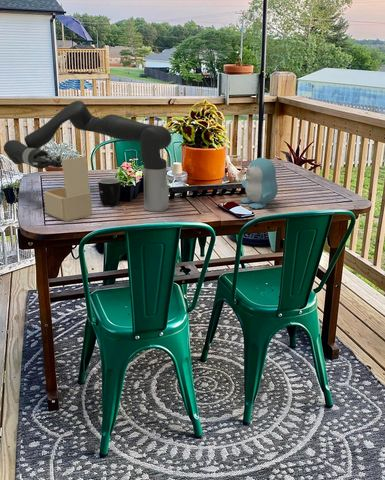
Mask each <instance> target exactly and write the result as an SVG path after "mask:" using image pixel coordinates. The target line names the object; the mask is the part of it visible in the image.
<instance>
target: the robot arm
mask: <svg viewBox="0 0 385 480" xmlns="http://www.w3.org/2000/svg"><path fill="white" fill-rule="evenodd" d="M67 121H69V122H70V123H71V125H72V126H73V127H74V128H75V129H76V130H79V131H83V132H84V131H85V132H93V133H96V134H100V135H104V136H107V137H110V138H113V139H117V140H120V141H121V140H122V141H135V142H140V155H141V161H142V164H143V205H144V206H143V209H144V210H145V211H148V212H164V211H165V210H167V209H169V205H170V204H169V202H170V200H169V192H170V191H169V189H170V188H169V187H170V186H169V185H167V184H168V183H167V182H168V181H167V178H168V176H167V174H168V173H167V171H168V170H167V169H168V168H167V166H168V165H167V160H166V159H165V158H162V156H161V150H164V149H166V148H167V147H169V146H170V144H171V142H172V135H171V132H170V130H169V129H167V128H166V127H164V126H163V125H155V124H148V123H142V122H140V121H137V120H134V119H130V118H127V117H124V116H121V115H118V114H117V115H116V114H111V113H110V114H108V115H107V114H106V115H105V116H103V117H102V118H101V117H98V116H94V115H93V114H92V113H91V112H90V111H89V109H88V107H87V106H86V104H85V103H84V101H81V100H75V101H73V102H70V103H69V104H68V105H66V106H65V107H64V108H63V109H61V110H60V111H59V112H58V113H56V114H55V115H54V116H53V117H51V119H50V120H48V121H47V122H45V123H44V125H42V126H40V127H39V128H37V129H35V130H34V131H32V132H30V133H29V134H27V135H25V136H24V139H23V140H24V142H25V144H26V145H25V144H24V143H22V142H21V141H19V140H16V139H10V140H7V141H6V142H5V143H4V145H3V151H4V153H5V154H6V155H7V157H8V158H9V159H10V161H12V163H13V164H15V165H21V164H24V165H27V166H30V167H33V168H36V169H39V170H43V169H45V168H62V156H60V155H58V156H56V157H54V156H51V155H49V153H48V152H47V151H46V150H43V149H40V148H42V147H43V146H45V145H47V144H49V143H50V142H51V141H52V140H53V138H54V137H55V135H56V133H57V131H58V130H59V128H60V127H61V125H63V124H64V123H65V122H67Z"/></svg>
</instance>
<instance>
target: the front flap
mask: <svg viewBox="0 0 385 480" xmlns="http://www.w3.org/2000/svg"><path fill="white" fill-rule="evenodd" d="M61 167H62V173H63V181H64V187H65V191H66V198H68V197H73V196H77V195H82V194H86V193H91V189H90V187H91V186H90V179H89V177H90V176H89V171H88V170H89V168H88V161H87V156H86V155H84V156H79V157H77V156H76V157H72V158H71V157H70V158H65V159H61Z"/></svg>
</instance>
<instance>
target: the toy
mask: <svg viewBox="0 0 385 480" xmlns="http://www.w3.org/2000/svg"><path fill="white" fill-rule="evenodd" d="M276 170H277V169H276V167H275V164H274V163H273V162H272V161H271V160H270V159H268V158H266V157H258V158H255V159H253V160H252V161H251V162H249V165H248V166H247V167H246V169H245V175H246V176H245V177H246V179H242V180H241V185H242V187H243V188H244V189H245V193H246V196H247V197H243V198H241V199H240V202H241V204H245V203H247V204H248V208H250V207H251V208H250V209H252V208H255V209H254V210H259V209H258V208H261V209H262V208H263V207H264V208H265V207H266V206H267V205H268V203H271V202H273V201H274V199H275V198H276V196H277V194H278V184H277V177H276V176H277V174H276V173H277V172H276Z"/></svg>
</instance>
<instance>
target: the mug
mask: <svg viewBox="0 0 385 480" xmlns="http://www.w3.org/2000/svg"><path fill="white" fill-rule="evenodd" d="M97 183H98V193H99V198H100V201H101V204H102V205H103V206H105V207H115V206H117V205H118V204H119V202H120V196H121V180H120V179H118V178H114V177H111V178H109V177H108V178H107V177H105V178H101V179H98V181H97Z"/></svg>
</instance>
